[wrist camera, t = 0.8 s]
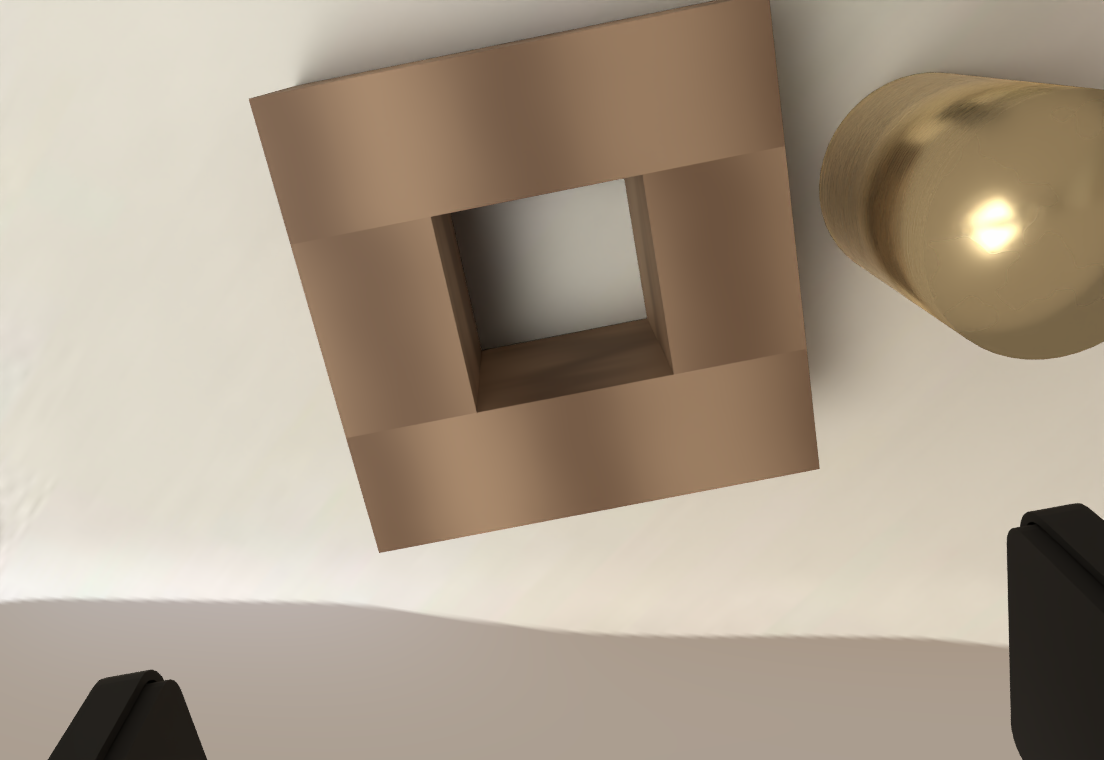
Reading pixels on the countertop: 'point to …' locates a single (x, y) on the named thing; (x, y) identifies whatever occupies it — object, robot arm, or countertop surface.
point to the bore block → (571, 359)
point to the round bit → (978, 206)
